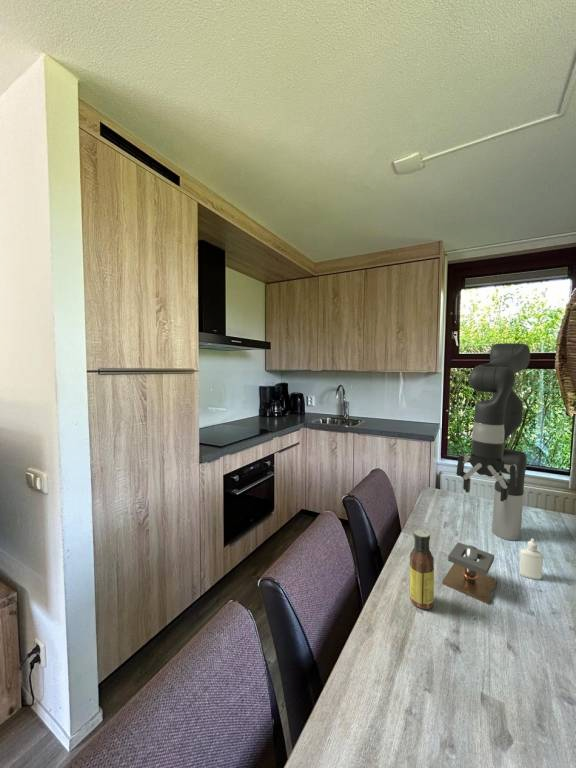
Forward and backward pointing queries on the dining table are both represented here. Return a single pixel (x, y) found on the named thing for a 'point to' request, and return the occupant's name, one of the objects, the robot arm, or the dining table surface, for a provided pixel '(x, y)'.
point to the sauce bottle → (421, 571)
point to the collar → (479, 566)
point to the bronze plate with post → (470, 579)
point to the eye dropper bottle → (531, 561)
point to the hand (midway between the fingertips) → (484, 496)
